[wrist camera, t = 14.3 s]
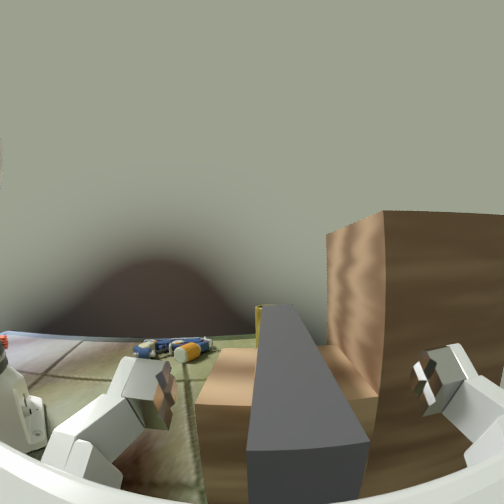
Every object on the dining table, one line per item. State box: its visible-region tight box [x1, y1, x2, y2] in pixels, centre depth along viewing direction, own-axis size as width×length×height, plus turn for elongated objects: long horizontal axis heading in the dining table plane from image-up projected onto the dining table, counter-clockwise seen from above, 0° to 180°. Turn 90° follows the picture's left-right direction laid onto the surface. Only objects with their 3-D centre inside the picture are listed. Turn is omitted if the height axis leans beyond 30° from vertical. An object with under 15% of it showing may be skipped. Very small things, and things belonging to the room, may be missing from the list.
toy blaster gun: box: [133, 337, 213, 363], centre depth 73 cm, size 21×4×15 cm
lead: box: [246, 305, 370, 504], centre depth 18 cm, size 24×3×2 cm, turn 177°
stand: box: [195, 211, 504, 504], centre depth 20 cm, size 14×18×26 cm
